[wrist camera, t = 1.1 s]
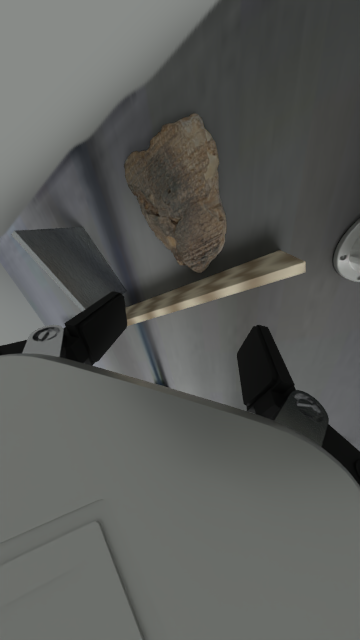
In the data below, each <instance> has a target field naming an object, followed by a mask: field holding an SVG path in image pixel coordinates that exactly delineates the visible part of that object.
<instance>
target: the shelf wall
mask: <svg viewBox="0 0 360 640" xmlns="http://www.w3.org/2000/svg"><path fill="white" fill-rule="evenodd" d="M301 273H305V261H303V260H300V259H298V258H296V257H294V256H292V255H290V254H287V253H285V252H283V251H281V250H279V251H276V252H273V253H271V254H268V255H265V256H263V257H260V258H257V259H255V260H252V261H249V262H247V263H244V264H241V265H239V266H236V267H233V268H231V269H228V270H225V271H223V272H220V273H217V274H215V275H212V276H209V277H207V278H204V279H201V280H199V281H196V282H193V283H190V284H188V285H185V286H182V287H180V288H177V289H174V290H172V291H169V292H166V293H164V294H161V295H158V296H156V297H153V298H150V299H148V300H145V301H142V302H140V303H137V304H134V305H132V306H129V307H126V308H125V309H126V316H127V326H129V325H132V324H135V323H139V322H142V321H145V320H149V319H152V318H155V317H159V316H162V315H165V314H169V313H172V312H175V311H178V310H182V309H185V308H188V307H192V306H195V305H198V304H202V303H205V302H208V301H212V300H215V299H218V298H222V297H225V296H228V295H232V294H235V293H238V292H242V291H245V290H248V289H252V288H255V287H258V286H262V285H265V284H268V283H272V282H275V281H278V280H282V279H285V278H288V277H291V276H295V275H298V274H301Z"/></svg>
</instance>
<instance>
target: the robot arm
mask: <svg viewBox="0 0 360 640" xmlns="http://www.w3.org/2000/svg"><path fill="white" fill-rule="evenodd" d="M333 263H334V268H335V270H336V272H337V273H338V274H339V275H340V276H342V277H344V278H346V279H348V280H351V281H355V282H360V219H358V220H357V221H356V222H355V223H354V224H353V225H352V226H351V227H350V228H349V229H348V231H347V232H346V233H345V235H344V236H343V237H342V239H341V240H340V242H339V244H338V245H337V248H336V250H335V253H334V259H333ZM65 326H66V327H65V328H64V329H63V328H62V327H61V326H58V325H49V326H45V327H42V328H39V329H37V330H35V331H34V332H33V333H32V334H31V335H30V336H29V338H28V340H25V341H20V342H16V343H12V344H7V345H3V346H0V640H360V451H359V450H357V449H356V448H355V447H354V446H353V445H352V444H350V443H349V442H348V441H347V440H346V439H345V438H344V437H342V436H341V435H340V434H339V433H338V432H337V431H336V430H334V429H333V428H332V427H331V426H330V425H329V424H328V422H329V418H328V415H327V412H326V411H325V409H324V408H323V406H322V405H321V404H320V403H319V402H318V401H317V400H316V399H315V398H314V397H312V396H311V395H309V394H308V393H305V392H303V391H299V390H296V389H295V387H294V383H293V380H292V378H291V376H290V374H289V372H288V370H287V367H286V365H285V363H284V361H283V359H282V357H281V355H280V352H279V350H278V348H277V346H276V344H275V342H274V339H273V337H272V335H271V333H270V331H269V329H268V327H265V326H261V325H257V326H254V327H253V328H252V329H251V331H250V333H249V334H248V336H247V338H246V339H245V341H244V343H243V344H242V346H241V348H240V349H239V351H238V353H237V360H238V367H239V374H240V381H241V388H242V395H243V402H244V404H245V405H246V406H247V411H248V412H247V411H244V410H241V409H237V408H234V407H231V406H228V405H225V404H221V403H218V402H214V401H211V400H208V399H204V398H201V397H198V396H194V395H191V394H188V393H184V392H181V391H177V390H174V389H171V388H167V387H164V386H160V385H157V384H154V383H150V382H147V381H143V380H140V379H136V378H133V377H129V376H126V375H123V374H119V373H116V372H112V371H109V370H105V369H102V368H98V367H95V366H92V365H93V364H94V363H95V362H97V361H99V360H100V358H101V357H102V356H103V355H104V354H105V353H106V351H107V350H108V349H109V348H110V347H111V345H112V344H113V343H114V342H115V341H116V339H117V338H118V337H119V336H120V335H121V334H122V332H123V331H124V330H125V329H126V327H127V316H126V309H125V302H124V296H123V295H122V294H121V293H119V292H115V291H112V292H110V293H109V294H107V295H106V296H104V297H103V298H101V299H100V300H98V301H97V302H95V303H94V304H92V305H91V306H90V307H88V308H87V309H85V310H84V311H82V312H81V313H79V314H78V315H76V316H75V317H73V318H72V319H70V320H69V321H68V322H66V323H65ZM250 412H251V413H250ZM253 413H255V414H253Z"/></svg>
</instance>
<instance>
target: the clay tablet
mask: <svg viewBox="0 0 360 640" xmlns="http://www.w3.org/2000/svg"><path fill="white" fill-rule="evenodd" d="M218 165H219V159H218V152H217V148H216V143H215V141H214V140H213V139H212V136H211V134H210V133H209V132H208V131H207V130H206V129H205V128H204V124H203V121H202V118H201V117H200V116H199V115H198V114H196V113H194V114H191V115H190V116H189V117H185V118H182V119H180V120H178V121H177V122H175V123H168V124H165V125H163V126H162V129H161V132H158V134H157V135H156V136H155V137H153V138H152V139H151V141H150V147H149V149H148V150H147V151H141V152H138V151H135V152H132V153H131V154H130V155H129V156H128V159H127V160H126V161H125V165H124V168H125V177H126V180H127V183H128V186H129V188H130V189H131V191H132V193H133V194H134V195H136V196H137V197H138V198H137V200H138V202H139V204H140V207H141V211H142V214H143V215H144V216H145V219H146V220H147V222H148V224H149V227H150V228H151V229H152V231H154V232H155V236H156V237H157V238H158V239H160V240H161V241H162V242H163V244H164V245H165V246H166V247H167V248H168V249H169V250H171V251H172V252H173V254H174V257H175V258H176V260H177V262H178V263H179V264H180V265H187V266H188V267H190V268H191V270H193V271H195V272H198V273H201V272H203V271H204V270H205V269H206V268H207V267H208V266H209V264H210V262H211V261H212V260H213V259H214V258H216V256H217V255H218V254H219V253H220V251H221V250H222V248H223V246H224V243H225V234H226V217H225V212H224V210H223V206H222V202H221V199H220V197H219V185H218V182H219V175H218V171H217V168H218Z"/></svg>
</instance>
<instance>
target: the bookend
mask: <svg viewBox="0 0 360 640" xmlns="http://www.w3.org/2000/svg"><path fill="white" fill-rule="evenodd" d="M11 235H12V236H13V237H14V238H15V240H16V241H17V242H18V243H19V244H20V245H21V246H22V247H23V248H24V249H25V250H26V251H27V252H28V254H29V255H30V256H31V257H32V258H33V259H34V260H35V261H36V262H37V263H38V264H39V265H40V267H41V268H42V269H43V270H44V271H45V272H46V273H47V274H48V275H49V276H50V277H51V278H52V279H53V281H54V282H55V283H56V284H57V285H58V286H59V287H60V288H61V289H62V290H63V291H64V292H65V293H66V295H67V296H68V297H69V298H70V299H71V300H72V301H73V302H74V303H75V304H76V305H77V306H78V308H79V309H80V310H81V311H84V310H85V309H87V308H88V307H90V306H91V305H92V304H94V303H95V302H97V301H98V300H100V299H101V298H103V297H104V296H106V295H107V294H109V293H110V292H112V291H115V292H119V293H121V294H124V293H125V292H126V290H125V288H124V287H123V285H122V284H121V282H120V281H119V279H118V278H117V276H116V275H115V273H114V272H113V270H112V269H111V268H110V266H109V265H108V263H107V262H106V260H105V259H104V257H103V256H102V254H101V253H100V251H99V250H98V248H97V247H96V246H95V244H94V243H93V241H92V240H91V238H90V237H89V235H88V234H87V232H86V231H85V229H84V228H83V227H73V228H55V229H37V230H20V231H14V232H13V233H12V234H11Z"/></svg>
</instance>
